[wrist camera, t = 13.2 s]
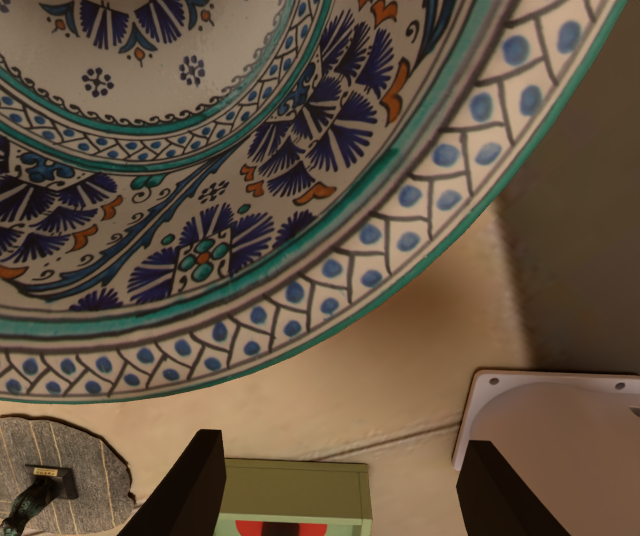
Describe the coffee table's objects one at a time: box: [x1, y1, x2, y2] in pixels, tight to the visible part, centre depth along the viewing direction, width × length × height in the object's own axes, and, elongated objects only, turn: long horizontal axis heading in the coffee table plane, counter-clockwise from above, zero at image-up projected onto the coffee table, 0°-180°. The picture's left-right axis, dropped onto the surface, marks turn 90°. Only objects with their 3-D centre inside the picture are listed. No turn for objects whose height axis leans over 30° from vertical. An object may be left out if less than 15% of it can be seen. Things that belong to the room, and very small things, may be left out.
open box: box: [213, 459, 373, 536], centre depth 25 cm, size 11×10×4 cm
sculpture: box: [0, 417, 134, 536], centre depth 26 cm, size 12×9×8 cm
